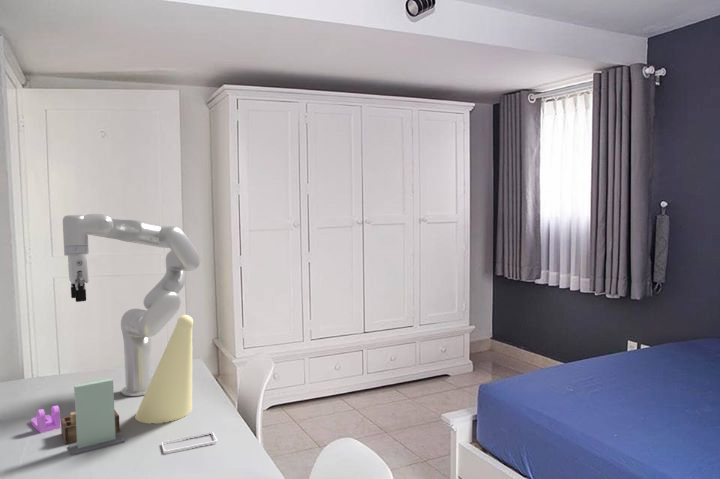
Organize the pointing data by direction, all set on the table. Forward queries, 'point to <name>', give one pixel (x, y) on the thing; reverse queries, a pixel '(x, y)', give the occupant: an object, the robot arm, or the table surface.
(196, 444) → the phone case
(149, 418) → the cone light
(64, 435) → the walnut rack
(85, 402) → the green board
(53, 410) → the bracket
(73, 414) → the oak offcut
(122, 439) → the charcoal mat
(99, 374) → the table surface
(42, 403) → the table surface
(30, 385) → the table surface
